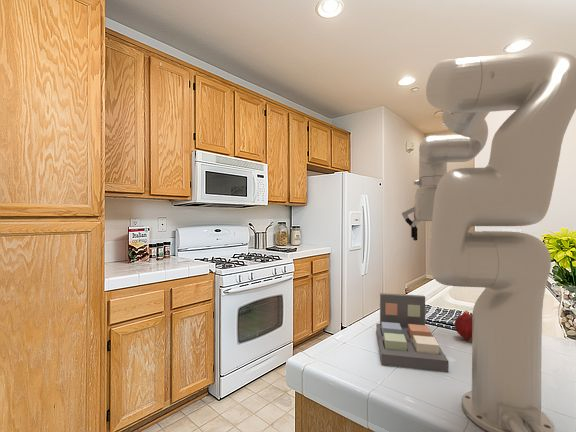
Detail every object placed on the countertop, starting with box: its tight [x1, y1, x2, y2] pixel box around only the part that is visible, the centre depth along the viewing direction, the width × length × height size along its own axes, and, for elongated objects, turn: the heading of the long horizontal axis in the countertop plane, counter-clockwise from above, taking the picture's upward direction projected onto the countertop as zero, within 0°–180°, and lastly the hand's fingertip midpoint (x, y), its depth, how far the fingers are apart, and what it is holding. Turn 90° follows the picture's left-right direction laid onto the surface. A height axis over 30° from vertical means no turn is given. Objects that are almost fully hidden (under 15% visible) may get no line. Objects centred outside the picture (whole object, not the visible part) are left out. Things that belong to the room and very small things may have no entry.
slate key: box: [381, 322, 402, 336], centre depth 81 cm, size 5×5×2 cm
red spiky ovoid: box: [454, 310, 472, 341], centre depth 83 cm, size 6×6×8 cm
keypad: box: [375, 292, 449, 373], centre depth 77 cm, size 20×14×12 cm
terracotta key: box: [408, 324, 432, 339], centre depth 80 cm, size 5×5×2 cm
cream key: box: [413, 335, 440, 354], centre depth 72 cm, size 5×5×2 cm
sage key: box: [384, 333, 407, 351], centre depth 74 cm, size 5×5×2 cm
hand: (432, 240), depth 91 cm, fingers open, 9 cm apart
